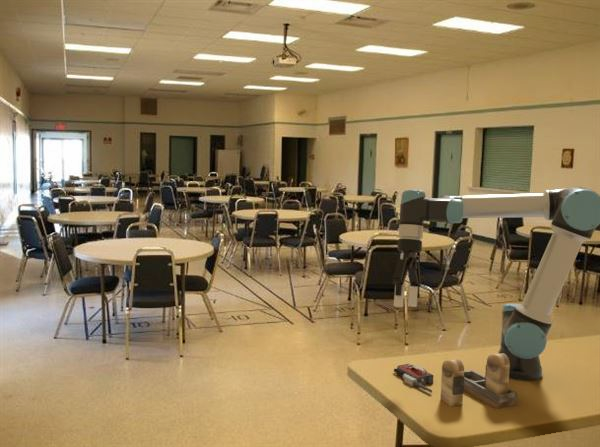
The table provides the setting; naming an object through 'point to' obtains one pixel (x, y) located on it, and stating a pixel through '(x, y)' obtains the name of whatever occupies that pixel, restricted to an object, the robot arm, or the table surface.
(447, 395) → the block
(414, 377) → the walkie-talkie
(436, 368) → the table surface
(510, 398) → the rail
